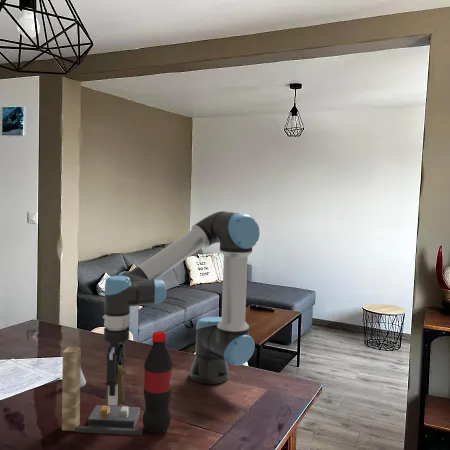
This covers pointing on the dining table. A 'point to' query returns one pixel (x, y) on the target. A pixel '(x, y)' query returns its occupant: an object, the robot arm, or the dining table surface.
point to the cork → (120, 386)
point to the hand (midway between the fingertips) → (115, 399)
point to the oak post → (71, 388)
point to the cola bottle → (157, 386)
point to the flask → (82, 379)
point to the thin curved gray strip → (108, 430)
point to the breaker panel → (114, 416)
